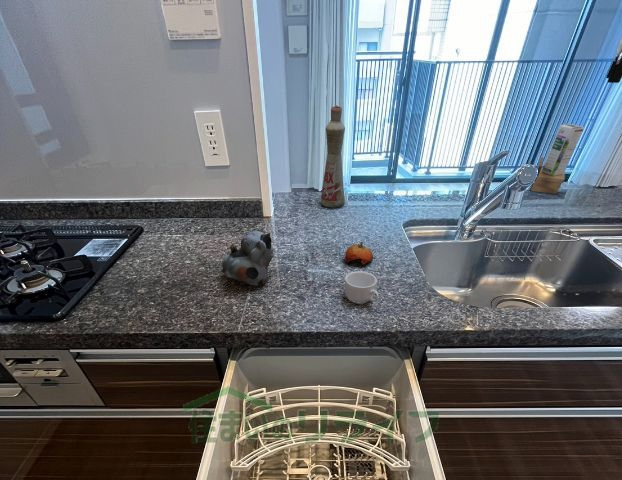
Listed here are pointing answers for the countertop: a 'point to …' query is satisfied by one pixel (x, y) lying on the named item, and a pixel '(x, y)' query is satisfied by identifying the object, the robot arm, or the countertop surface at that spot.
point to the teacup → (360, 287)
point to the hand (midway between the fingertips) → (612, 80)
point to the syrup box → (562, 149)
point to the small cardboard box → (547, 181)
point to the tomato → (358, 253)
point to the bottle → (334, 162)
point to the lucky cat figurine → (250, 259)
